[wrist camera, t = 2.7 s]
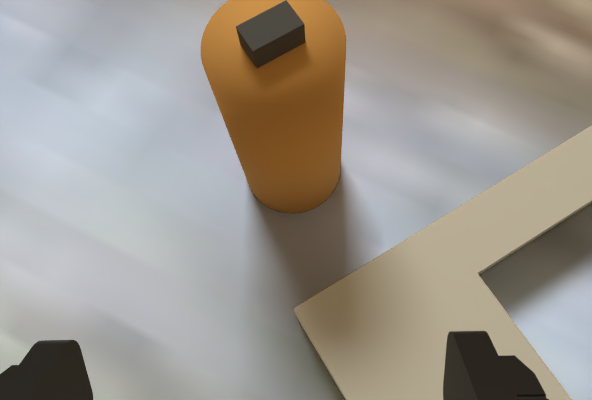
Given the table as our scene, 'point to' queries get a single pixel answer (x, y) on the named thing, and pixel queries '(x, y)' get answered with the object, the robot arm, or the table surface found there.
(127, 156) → the table surface
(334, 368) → the beige plate with cutout
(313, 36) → the orange capsule with nub
